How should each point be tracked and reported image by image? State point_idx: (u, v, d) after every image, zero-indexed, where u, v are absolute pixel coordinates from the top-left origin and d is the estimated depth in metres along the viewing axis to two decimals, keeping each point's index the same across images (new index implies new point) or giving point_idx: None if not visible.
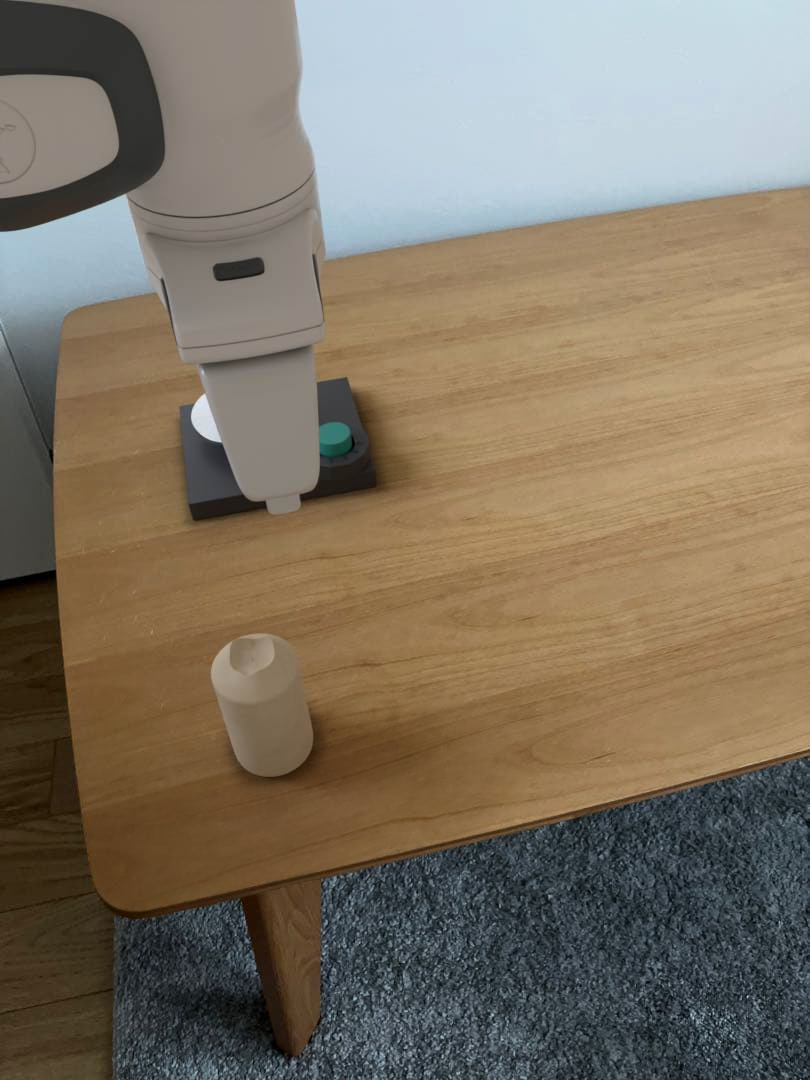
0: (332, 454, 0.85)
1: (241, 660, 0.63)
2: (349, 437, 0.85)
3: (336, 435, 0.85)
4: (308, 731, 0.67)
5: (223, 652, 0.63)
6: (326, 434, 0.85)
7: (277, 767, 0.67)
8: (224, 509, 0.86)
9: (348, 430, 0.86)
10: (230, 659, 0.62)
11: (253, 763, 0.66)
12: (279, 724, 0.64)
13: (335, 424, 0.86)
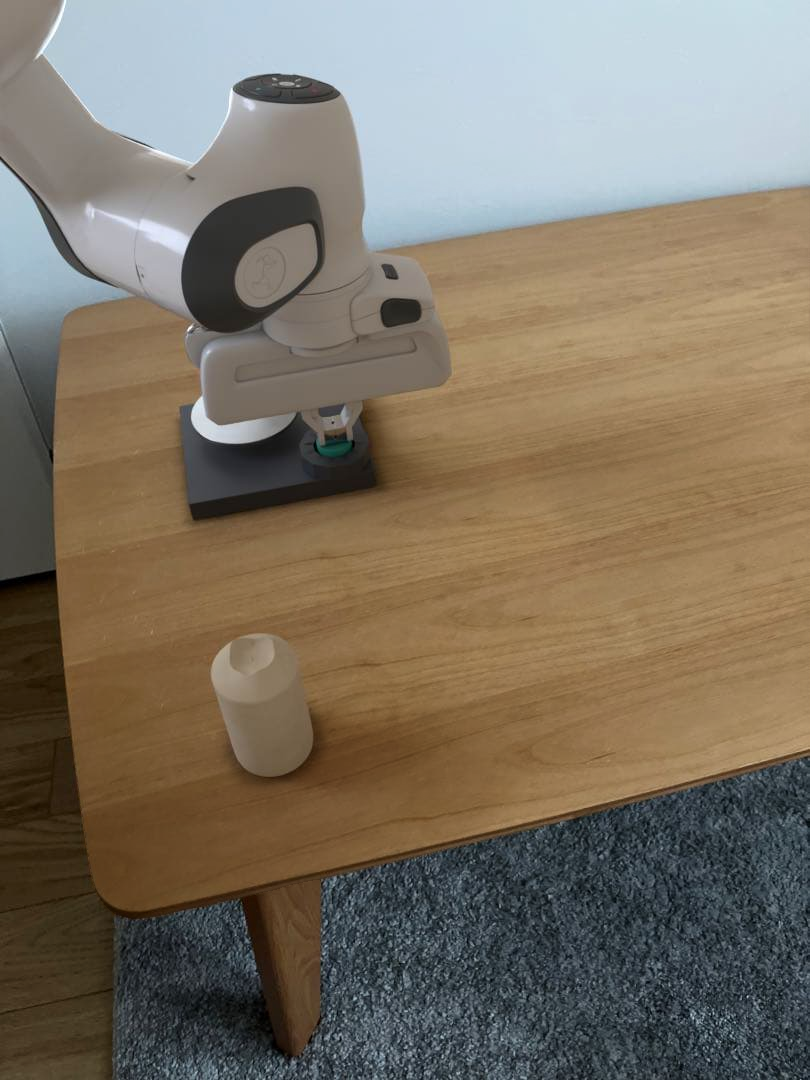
0: None
1: (241, 660, 0.63)
2: (350, 444, 0.86)
3: None
4: (308, 731, 0.67)
5: (223, 652, 0.63)
6: None
7: (277, 767, 0.67)
8: (224, 509, 0.86)
9: None
10: (230, 659, 0.62)
11: (253, 763, 0.66)
12: (279, 724, 0.64)
13: None
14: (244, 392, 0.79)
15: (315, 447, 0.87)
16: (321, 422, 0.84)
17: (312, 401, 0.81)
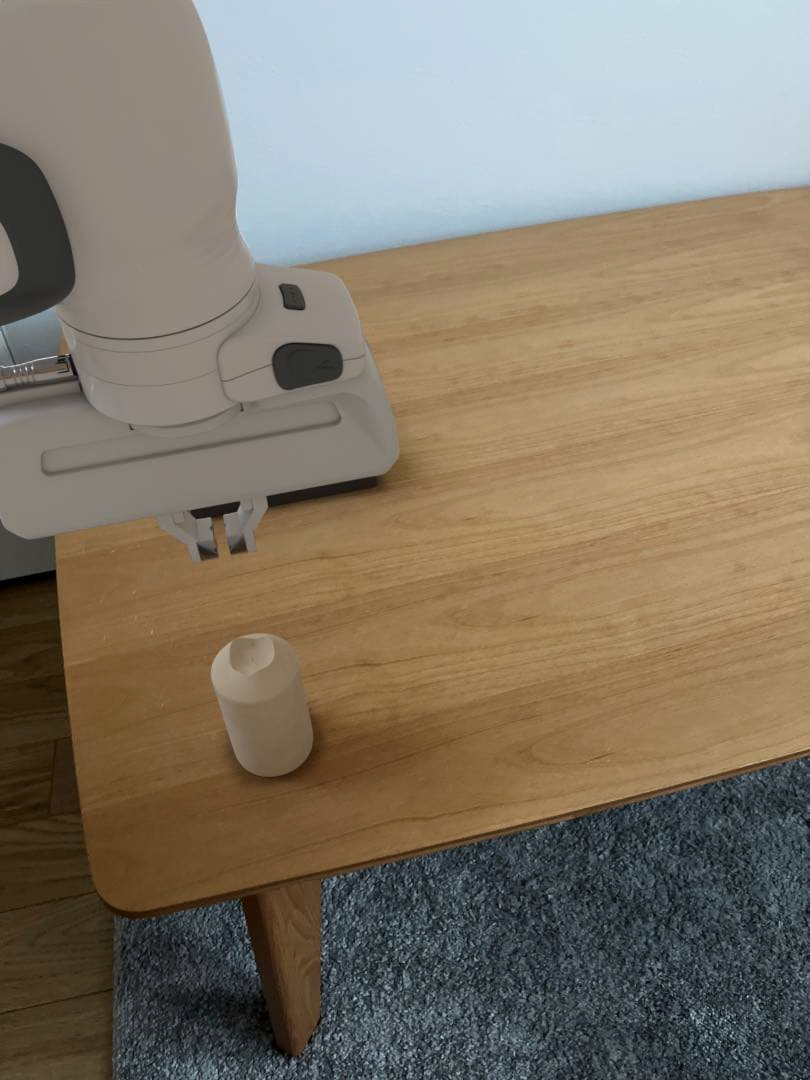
0: None
1: (241, 660, 0.63)
2: None
3: None
4: (308, 731, 0.67)
5: (223, 652, 0.63)
6: None
7: (277, 767, 0.67)
8: (224, 509, 0.86)
9: None
10: (230, 659, 0.62)
11: (253, 763, 0.66)
12: (279, 724, 0.64)
13: None
14: (61, 490, 0.49)
15: None
16: (193, 528, 0.54)
17: (176, 501, 0.51)
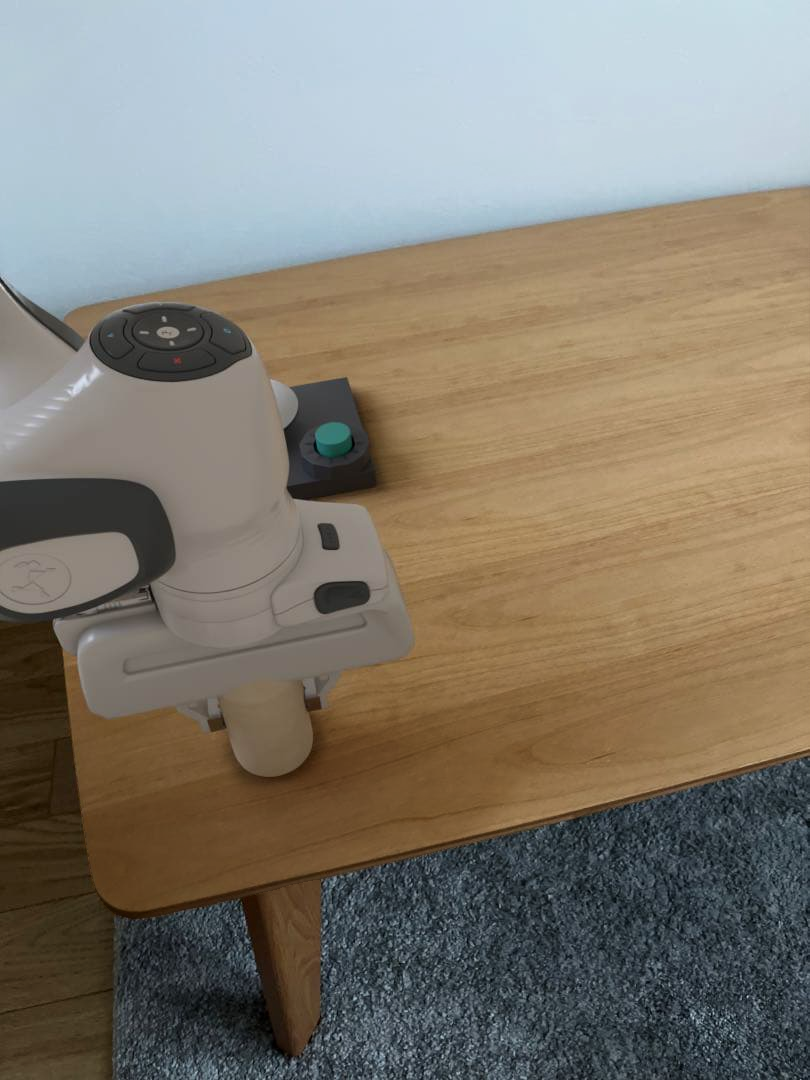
0: (332, 454, 0.85)
1: None
2: (349, 437, 0.85)
3: (336, 435, 0.85)
4: (308, 731, 0.67)
5: None
6: (326, 434, 0.85)
7: (277, 767, 0.67)
8: None
9: (348, 430, 0.86)
10: None
11: (253, 763, 0.66)
12: (279, 724, 0.64)
13: (335, 425, 0.86)
14: (138, 684, 0.59)
15: (315, 447, 0.87)
16: (204, 707, 0.65)
17: (231, 687, 0.61)
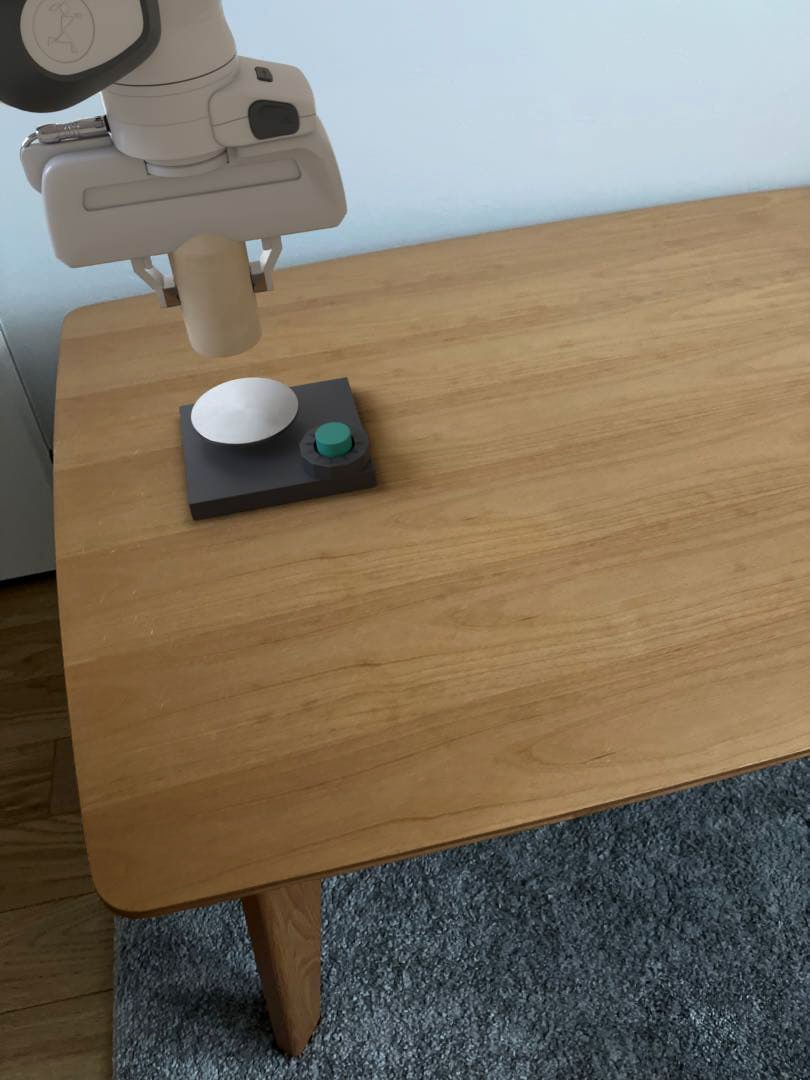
0: (332, 454, 0.85)
1: None
2: (349, 437, 0.85)
3: (336, 435, 0.85)
4: (255, 315, 0.74)
5: None
6: (326, 434, 0.85)
7: (227, 344, 0.74)
8: (224, 509, 0.86)
9: (348, 430, 0.86)
10: None
11: (205, 339, 0.74)
12: (226, 288, 0.71)
13: (335, 425, 0.86)
14: (97, 224, 0.67)
15: (315, 447, 0.87)
16: (160, 279, 0.72)
17: (181, 240, 0.69)
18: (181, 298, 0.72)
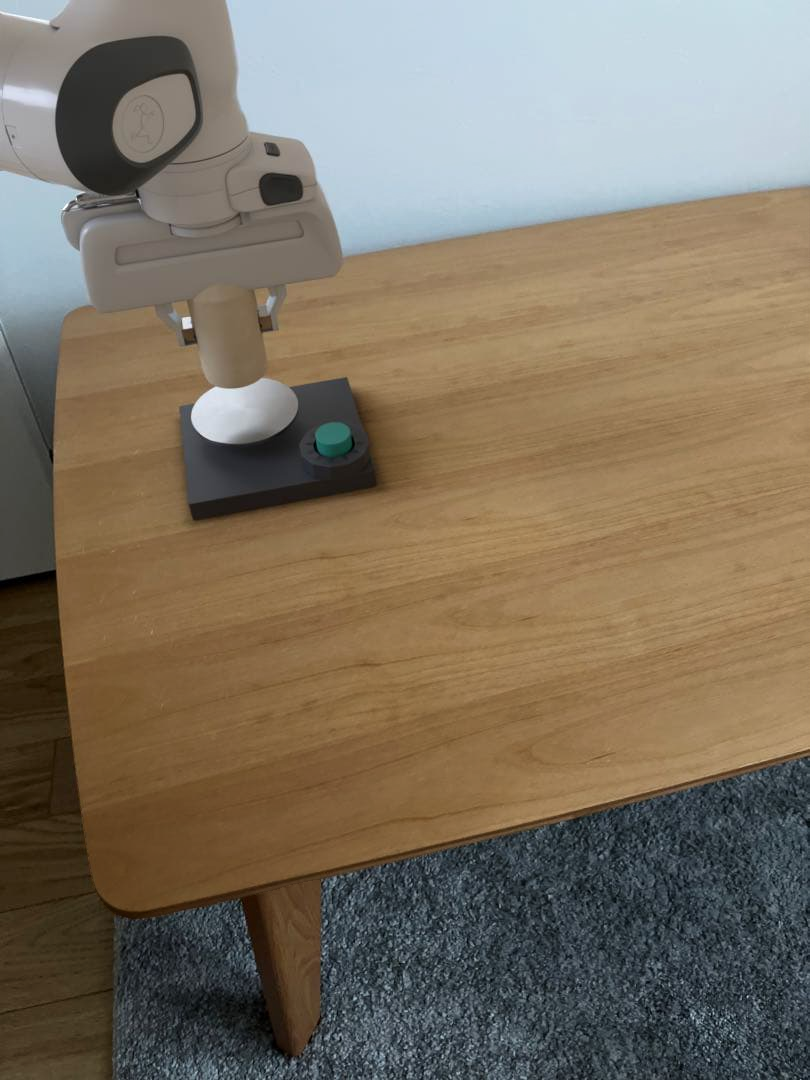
0: (332, 454, 0.85)
1: None
2: (349, 437, 0.85)
3: (336, 435, 0.85)
4: (262, 351, 0.85)
5: None
6: (326, 434, 0.85)
7: (237, 377, 0.84)
8: (224, 509, 0.86)
9: (348, 430, 0.86)
10: None
11: (218, 373, 0.84)
12: (237, 329, 0.81)
13: (335, 425, 0.86)
14: (126, 276, 0.77)
15: (315, 447, 0.87)
16: (179, 321, 0.82)
17: (199, 289, 0.79)
18: (198, 337, 0.82)
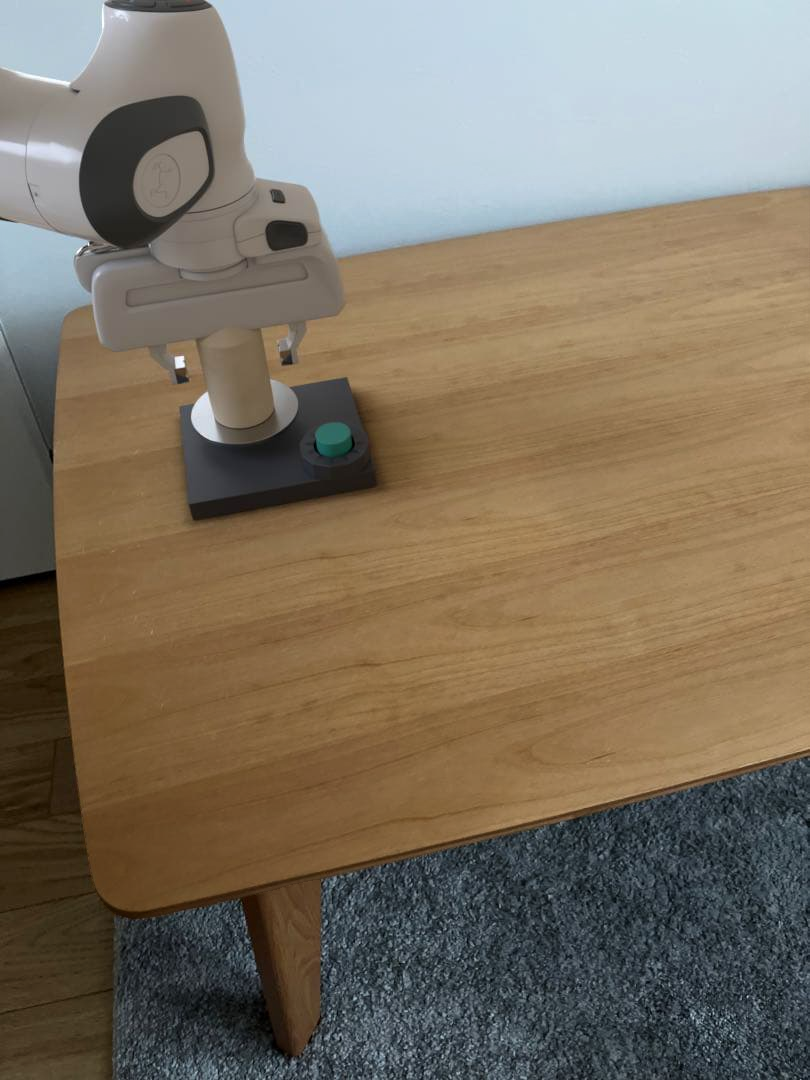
0: (332, 454, 0.85)
1: None
2: (349, 437, 0.85)
3: (336, 435, 0.85)
4: (269, 392, 0.88)
5: None
6: (326, 434, 0.85)
7: (245, 418, 0.87)
8: (224, 509, 0.86)
9: (348, 430, 0.86)
10: None
11: (227, 414, 0.87)
12: (246, 373, 0.84)
13: (335, 425, 0.86)
14: (136, 317, 0.79)
15: (315, 447, 0.87)
16: (172, 360, 0.85)
17: (206, 328, 0.81)
18: (207, 380, 0.85)
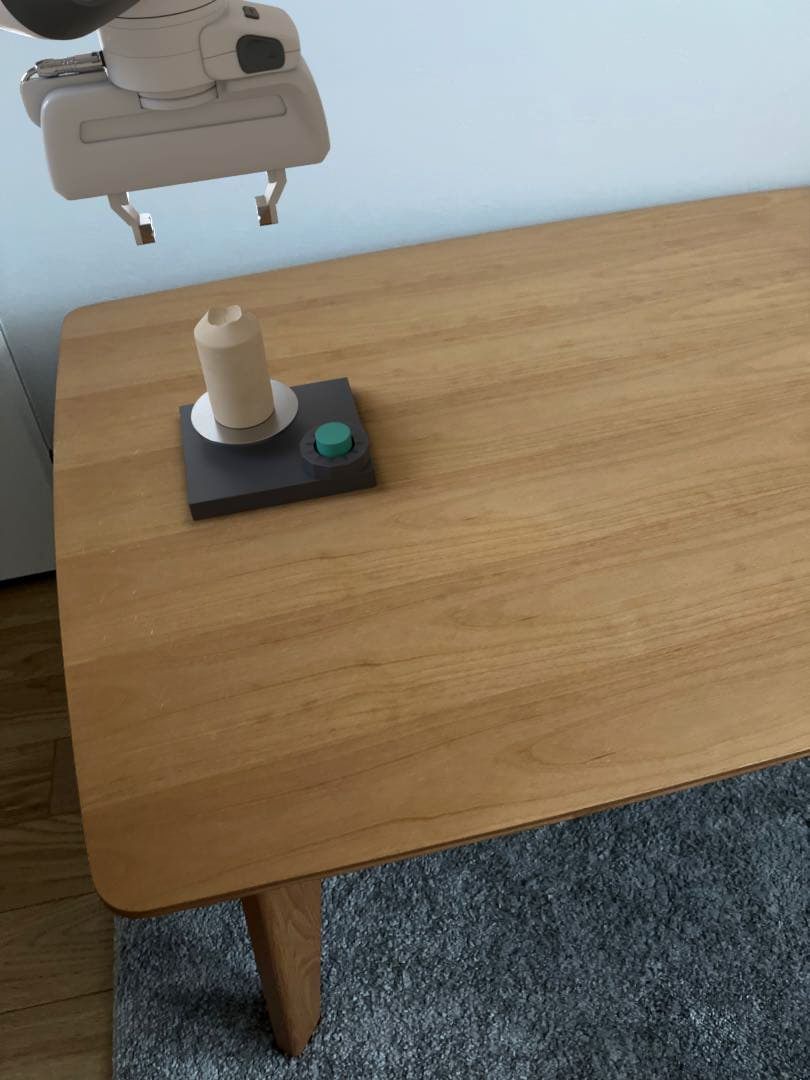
0: (332, 454, 0.85)
1: (217, 321, 0.83)
2: (349, 437, 0.85)
3: (336, 435, 0.85)
4: (269, 392, 0.88)
5: (203, 317, 0.84)
6: (326, 434, 0.85)
7: (245, 418, 0.87)
8: (224, 509, 0.86)
9: (348, 430, 0.86)
10: (208, 319, 0.83)
11: (227, 414, 0.87)
12: (246, 373, 0.84)
13: (335, 425, 0.86)
14: (92, 156, 0.70)
15: (315, 447, 0.87)
16: (136, 216, 0.76)
17: (172, 173, 0.72)
18: (207, 380, 0.85)
